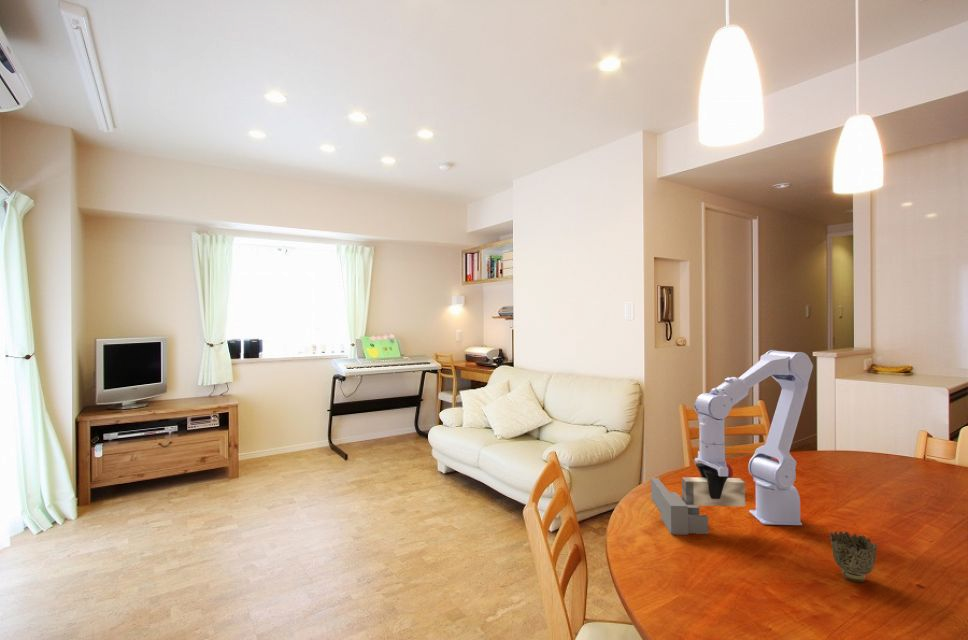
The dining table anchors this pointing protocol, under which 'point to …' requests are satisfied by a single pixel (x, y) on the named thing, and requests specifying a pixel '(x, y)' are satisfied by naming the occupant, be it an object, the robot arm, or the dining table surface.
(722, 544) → the dining table surface
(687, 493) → the birch rail
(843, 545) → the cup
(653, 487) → the grey stepped block
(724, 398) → the robot arm
